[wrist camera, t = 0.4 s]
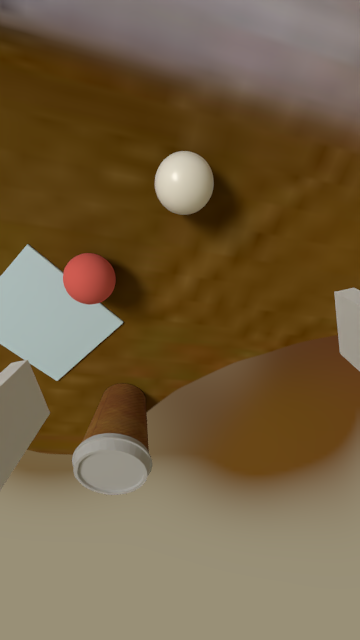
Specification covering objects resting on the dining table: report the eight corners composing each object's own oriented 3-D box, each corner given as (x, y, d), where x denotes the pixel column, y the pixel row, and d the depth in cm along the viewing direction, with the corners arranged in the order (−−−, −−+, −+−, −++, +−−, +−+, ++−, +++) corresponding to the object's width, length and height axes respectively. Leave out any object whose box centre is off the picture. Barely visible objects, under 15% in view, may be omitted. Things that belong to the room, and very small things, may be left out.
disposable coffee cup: (160, 419, 51) (156, 494, 41) (99, 423, 52) (79, 499, 42) (152, 372, 47) (145, 444, 36) (85, 376, 47) (59, 449, 37)
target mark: (28, 243, 37) (27, 244, 37) (123, 321, 42) (123, 322, 42) (-36, 319, 42) (-37, 319, 42) (57, 380, 47) (57, 381, 47)
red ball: (91, 235, 36) (78, 253, 32) (128, 269, 39) (122, 291, 34) (61, 268, 38) (45, 289, 34) (98, 299, 40) (88, 322, 36)
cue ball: (184, 135, 31) (186, 138, 27) (222, 180, 34) (229, 190, 29) (144, 178, 33) (139, 188, 29) (182, 218, 36) (183, 233, 31)
